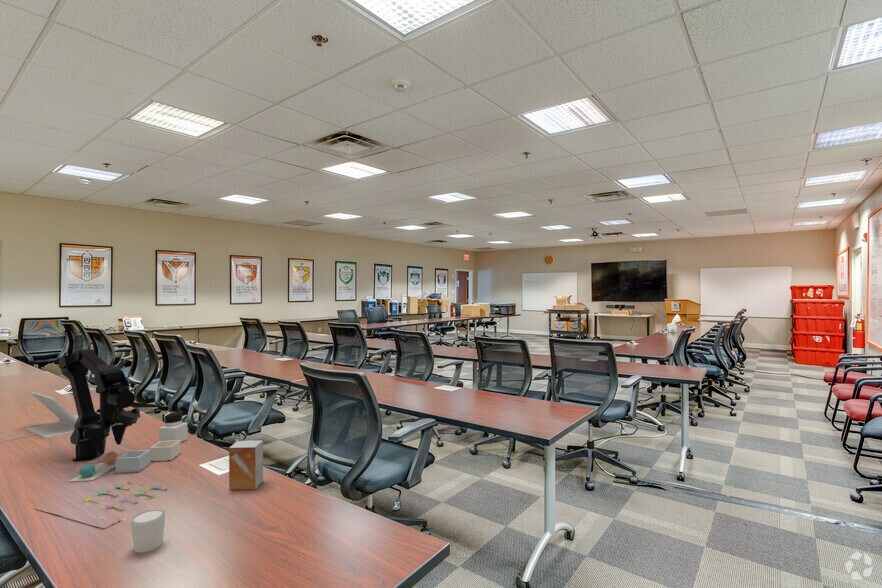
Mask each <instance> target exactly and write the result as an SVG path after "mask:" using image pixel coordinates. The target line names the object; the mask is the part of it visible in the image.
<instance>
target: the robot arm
mask: <svg viewBox="0 0 882 588" xmlns="http://www.w3.org/2000/svg"><path fill="white" fill-rule="evenodd" d="M57 364H58V368H59V369H60V371H61V373H62V375H63V376H64V377H65V378H67V379H68V380H69V382H70V383H69V384H70V387H71V391H72V395H73V399H74V404H75V409H76V412H77V415H78V419H77V421H76V423H75V425H74V426H75V430H74V431H73V433H71V435H70V437H69V440H70V444H71V445H75V457H74V458H73V459H72V462H75V461H76V462H77V461H91V460H93V459H96V458H98V457H99V456H101V455H105V450H106V444H107V443H106V441H107V438H108V437H109V436H110V435H111V433H110V432H112V435H113V438H114V442H115V444H116V445H118V446H119V445H121V444H122V441H123V439H124V435H125V432H126V430H127V428H128V427H131V426H133V425H134V424H136V423H137V421H138V419H139V418H140V417H141V415H140V414H141V413H140V409H139V408H137V407H134V408H132V409H131V410H129V409H128V410H125V409H127V408H129V407H131V406H133V404H134V403H135V400H136V396H135V394H134V393H133V392H132V391H129V387H130V385H129V383H130V382H129V379H128V378H127V376H126V374H125V372H124V371H123V370H122V368H120V367H118V366H117V365H112V364H108V363H107V362H105V360H103V359H102V358H101V357H100V356H99V355H98V354H97V353H96V352H95V350H94V349H92V348H86V349H85V348H84V349H77V350H75V351H73V352H72V353H70V354H67V355H63V356H62V357H61V358H60V359H59V360H58V363H57ZM88 371H89V372H91V373H92V374H93V376H94V377H93V381H94V383H95V384H96V386H97V387H98V388H97V390H96V391H97V392H98V393H99V408H98V409H96V410H95V407H94V403H93V398H92V395H91V391H90V386H89V382H88V378H87V373H88Z"/></svg>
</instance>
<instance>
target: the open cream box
mask: <svg viewBox="0 0 882 588" xmlns="http://www.w3.org/2000/svg"><path fill="white" fill-rule="evenodd" d="M181 444H182V443H181V440H173V441H160V442H159V441H158V442H156V443H155V444H154V445H151V447H149V450H150V453H151V461H160V462H168V461H167V460H172V459H173V460H175V459H176V458H177V457H178V456H180V455H181V454H182V447H181ZM180 453H181V454H180ZM179 454H180V455H179ZM177 455H178V456H177ZM176 456H177V457H176ZM175 457H176V458H175ZM173 460H172V461H173Z"/></svg>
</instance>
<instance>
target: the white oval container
mask: <svg viewBox="0 0 882 588" xmlns="http://www.w3.org/2000/svg"><path fill="white" fill-rule="evenodd" d="M165 521H166V511H165V510H163V509H157V508H156V509H150V510H146V511H143V512H140V513H138V514H136V515H135V516H133V517H132V518H131V519H130V525H131V526H130V528H131V536H132V542H133V549H134V552H135V553H148V552H151V551H154V550H155V549H158V548H160V546H161V545H162V544H163V542H164V531H165V530H164V529H165Z"/></svg>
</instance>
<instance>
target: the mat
mask: <svg viewBox="0 0 882 588" xmlns="http://www.w3.org/2000/svg"><path fill="white" fill-rule="evenodd" d="M94 466H95V472H94V473H93V474H92V475H91V476H88V477H83V476H81V475H80V474H79V475H77V476H75V477H74V478H72V479H70V480H68V483H81V482H82V483H83V482H93V481H96V480H97V479H98V478H100V477H101V476H103V475H105V474H106V473H108V472H109V471H111V470H112V469H114V468H116V462H114V463H113V464H106V463H105V462H99V463H97V464H95V465H94Z"/></svg>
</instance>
